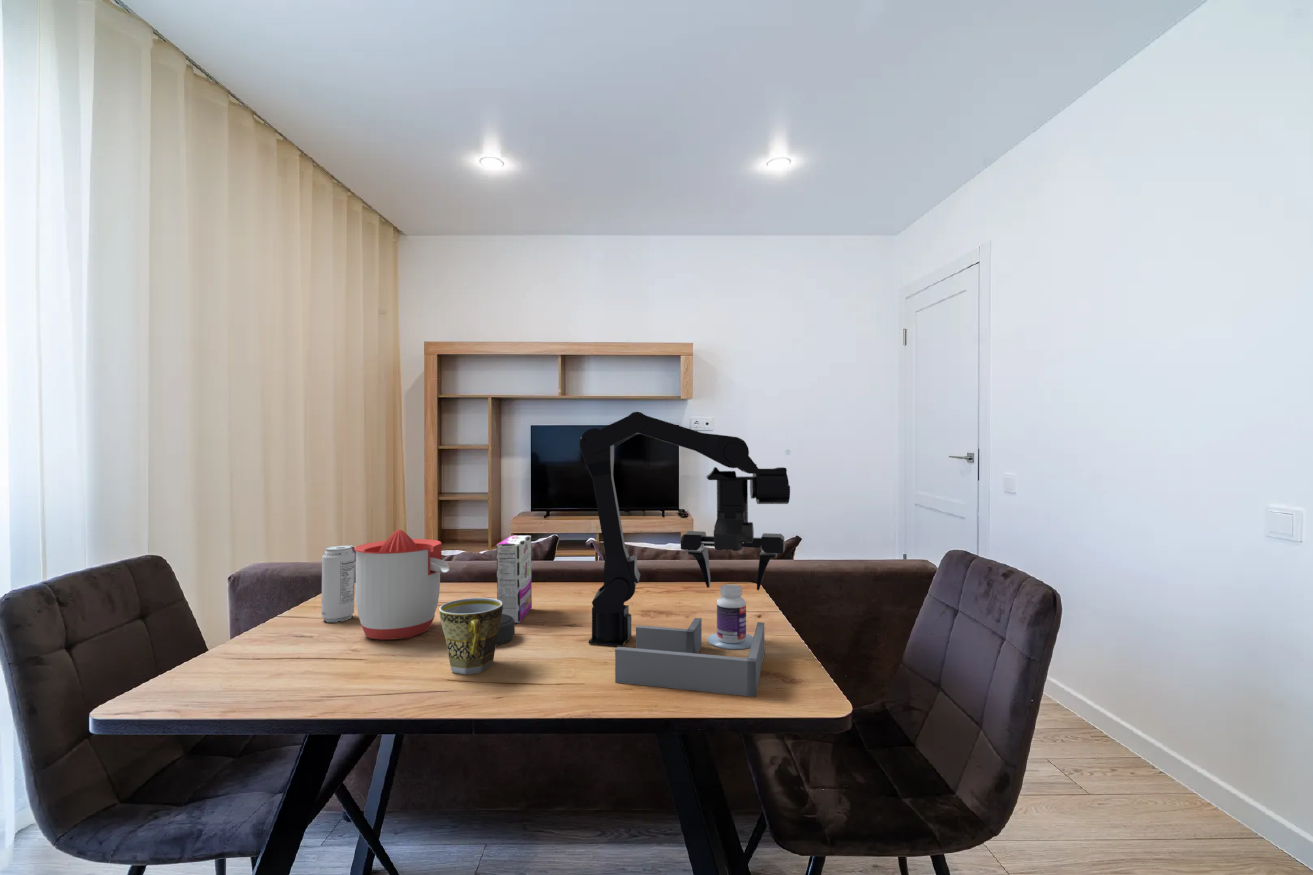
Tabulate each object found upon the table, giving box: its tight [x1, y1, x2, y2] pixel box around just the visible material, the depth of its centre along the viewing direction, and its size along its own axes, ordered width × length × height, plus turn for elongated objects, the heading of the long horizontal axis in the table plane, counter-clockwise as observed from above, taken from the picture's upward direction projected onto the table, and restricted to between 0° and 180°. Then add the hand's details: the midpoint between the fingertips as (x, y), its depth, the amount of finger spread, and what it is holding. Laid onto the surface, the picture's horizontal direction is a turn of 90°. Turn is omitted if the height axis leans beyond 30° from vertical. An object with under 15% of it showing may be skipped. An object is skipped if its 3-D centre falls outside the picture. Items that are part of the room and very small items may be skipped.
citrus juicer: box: [353, 528, 450, 640], centre depth 113 cm, size 16×17×20 cm
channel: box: [614, 617, 766, 698], centre depth 95 cm, size 21×19×5 cm
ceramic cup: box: [438, 597, 503, 676], centre depth 93 cm, size 13×10×10 cm
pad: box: [707, 632, 754, 651], centre depth 107 cm, size 9×9×1 cm
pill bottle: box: [716, 584, 747, 644], centre depth 107 cm, size 5×5×10 cm
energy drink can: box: [321, 545, 356, 623], centre depth 121 cm, size 6×6×15 cm
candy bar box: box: [496, 534, 533, 624], centre depth 123 cm, size 11×5×16 cm, turn 179°
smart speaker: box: [496, 614, 516, 646], centre depth 108 cm, size 9×9×4 cm
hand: (733, 588), depth 107 cm, fingers open, 9 cm apart
